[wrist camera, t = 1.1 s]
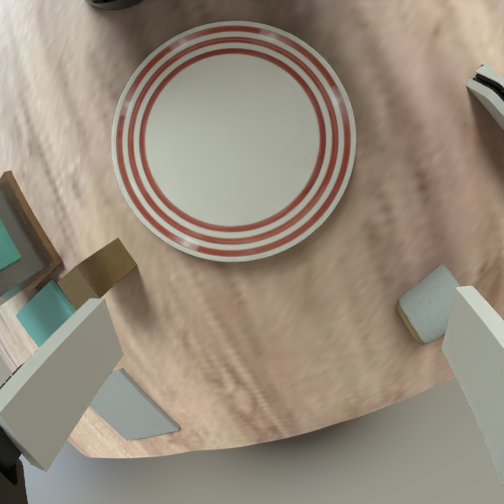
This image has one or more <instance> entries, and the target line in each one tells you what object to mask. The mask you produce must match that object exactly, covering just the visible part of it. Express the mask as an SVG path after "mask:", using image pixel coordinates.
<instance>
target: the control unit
mask: <svg viewBox="0 0 504 504" xmlns="http://www.w3.org/2000/svg"><path fill="white" fill-rule="evenodd" d="M61 262H63V261H62V259H61V258H60V256H59V255H58V253H57V252H56V250H55V249H54V247H53V245H52V244H51V242H50V241H49V239H48V237H47V236H46V234H45V233H44V231H43V229H42V228H41V226H40V224H39V222H38V221H37V219H36V217H35V216H34V214H33V212H32V210H31V208H30V207H29V205H28V203H27V201H26V199H25V198H24V196H23V194H22V192H21V190H20V188H19V186H18V184H17V182H16V180H15V178H14V176H13V174H12V172H11V171H7V172H4V173H3V175H2V177H1V178H0V306H1V305H2V304H3V303H5V302H6V301H8V300H9V299H10V298H12V297H13V296H15V295H16V294H17V293H19V292H20V291H22V290H23V289H24V288H26V290H27V291H28V293H30V292H32V291H33V290H34V289H35V288H36V287H37V286H38V285H39V284H40V283H41V282H42V281H43V280H44V279H45V278H46V277H47V276H48V275H49V274H50V273H51V272H52V271H53V270H54V269H55V268H56V267H57V266H58V265H59V264H60V263H61Z"/></svg>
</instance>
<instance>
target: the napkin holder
mask: <svg viewBox="0 0 504 504" xmlns="http://www.w3.org/2000/svg"><path fill="white" fill-rule="evenodd" d="M481 65H482V67H481V68H479V69H478V70H477V71H475V72H476V73H477V75H476V77H477V78H478V79H479V80H480V81H479V80H477V79H475V78H473V79H470V78H469V80H468V81H467V84H466V86H467V87H468V88H469V90H470V91H471V92H472V93H473V94H474V95H475V96H476V97H477V99H478V100H479V101H480V102H481V103H482V104H483V106H484V107H485V108H486V109H487V110H488V112H489V113H490V114H491V115H492V116H493V118H494V119H495V120H496V122H497V123H498V124H499V125H500V127H501V128H502V129H503V131H504V77H503V76H501V75H499V74H497V73H496V72H495V71H494V70H493V69H492V68H491V67H490V65H489V64H488V63H484V62H483V63H482V64H481Z"/></svg>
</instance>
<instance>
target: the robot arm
mask: <svg viewBox="0 0 504 504" xmlns="http://www.w3.org/2000/svg"><path fill="white" fill-rule="evenodd" d="M85 1H86V2H88V3H90V4H92V5H94V6H96V7H98V8H100V9H105V10H117V9H122V8H126V7H129V6H132V5H134V4H137V3H139V2H141V1H143V0H85ZM441 349H442V351H443V353H444V355H445V357H446V359H447V361H448V363H449V365H450V367H451V369H452V371H453V372H454V374H455V376H456V378H457V380H458V383H459V385H460V386H461V388H462V391H463V393H464V395H465V397H466V399H467V401H468V403H469V406H470V408H471V410H472V412H473V414H474V417H475V419H476V421H477V423H478V426H479V428H480V430H481V433H482V435H483V437H484V440H485V442H486V445H487V447H488V450H489V452H490V455H491V458H492V460H493V463H494V465H495V468H496V471H497V474H498V476H499V479H500V482H501V485H502V486H504V321H503V320H502V319H501V317H500V316H499V315H498V314H497V313H496V312H495V310H494V309H493V308H492V307H491V306H490V305H489V304H488V302H487V301H486V300H485V299H484V298H483V297H482V296H481V295H480V294H479V293H478V291H477V290H476V289H475V288H474V287H473V286H463V287H455V291H454V296H453V301H452V306H451V311H450V316H449V320H448V324H447V329H446V333H445V337H444V340H443V344H442V348H441ZM123 355H124V354H123V351H122V349H121V346H120V343H119V340H118V338H117V335H116V332H115V329H114V326H113V323H112V320H111V317H110V314H109V311H108V308H107V305H106V302H105V299H95V298H90V299H89V300H88V301H87V302H86V303H84V304H83V305H82V306H81V307H80V308H79V309H78V310H77V311H76V312H75V313H74V314H73V315H72V316H71V317H70V318H69V319H68V320H67V321H66V322H65V323H64V324H63V325H62V326H61V327H60V328H59V329H58V330H57V331H56V332H55V333H54V334H53V335H52V336H51V337H50V338H49V339H48V340H47V341H46V342H45V343H44V344H43V345H42V346H41V347H40V348H39V349H38V350H37V351H36V352H35V353H34V354H33V355H32V356H31V357H30V358H29V359H28V360H27V361H26V362H25V363H23V364H22V365H20V366H19V367H18V369H17V370H16V371H15V372H14V373H13V374H12V376H10V377H9V378H8V379H7V380H6V383H4V384H3V385H2V386H1V387H0V504H28V501H27V495H26V488H25V479H24V470H23V465H22V462H21V461H20V460H19V457H20V455H21V454H23V456H24V457H25V458H26V459H27V460H28V461H29V462H30V464H32V465H33V466H36V467H37V468H40V469H42V470H44V471H47V470H48V469H49V467H50V466H51V464H52V462H53V460H54V459H55V457H56V456H57V454H58V453H59V451H60V450H61V448H62V446H63V445H64V443H65V442H66V440H67V438H68V437H69V435H70V434H71V432H72V431H73V429H74V428H75V426H76V424H77V423H78V421H79V420H80V418H81V417H82V415H83V414H84V412H85V411H86V409H87V408H88V406H89V405H90V403H91V402H92V400H93V399H94V397H95V396H96V394H97V393H98V391H99V390H100V388H101V387H102V385H103V384H104V382H105V381H106V379H107V378H108V376H109V375H110V374H111V372H112V371H113V369H114V368H115V366H116V365H117V363H118V362H119V360H120V359H121V358H122V356H123Z"/></svg>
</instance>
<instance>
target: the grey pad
mask: <svg viewBox="0 0 504 504" xmlns="http://www.w3.org/2000/svg"><path fill="white" fill-rule="evenodd" d="M90 406H91V407H92V408H93V409H94V410H95V411H96V412H97V413H98V414H99V415H100V416H101V417H102V418H103V419H104V420H105V421H106V422H107V423H108V424H109V425H110V426H111V427H113V428H114V429H115V430H116V431H117V432H118V433H119V434H120V435H121V436H122V437H124V438H125V439H126V440H127V441H128V440H134V439H139V438H145V437H150V436H155V435H160V434H165V433H169V432H174V431H178V430H179V428H180V426H179V425H178V424H177V423H176V422H175V421H173V420H172V419H171V418H170V417H169V416H168V415H167V414H166V413H165V412H164V411H163V410H162V409H161V408H160V407H159V406H158V405H157V404H156V403H155V402H154V401H153V400H152V399H151V398H150V397H149V396H148V395H147V394H146V393H145V392H144V391H143V390H142V389H141V388H140V387H139V386H138V384H137V383H136V382H135V381H134V380H133V379H132V378H131V377H130V376H129V375H128V374H127V373H126V371H125V370H124V369H123V368H121V369H118V370H116V371H114V372H111V374H110V375H109V376H108V378H107V379H106V381H105V382H104V384H103V385H102V387H101V388H100V390H99V391H98V393H97V394H96V396H95V397H94V399H93V400H92V402H91V403H90Z"/></svg>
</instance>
